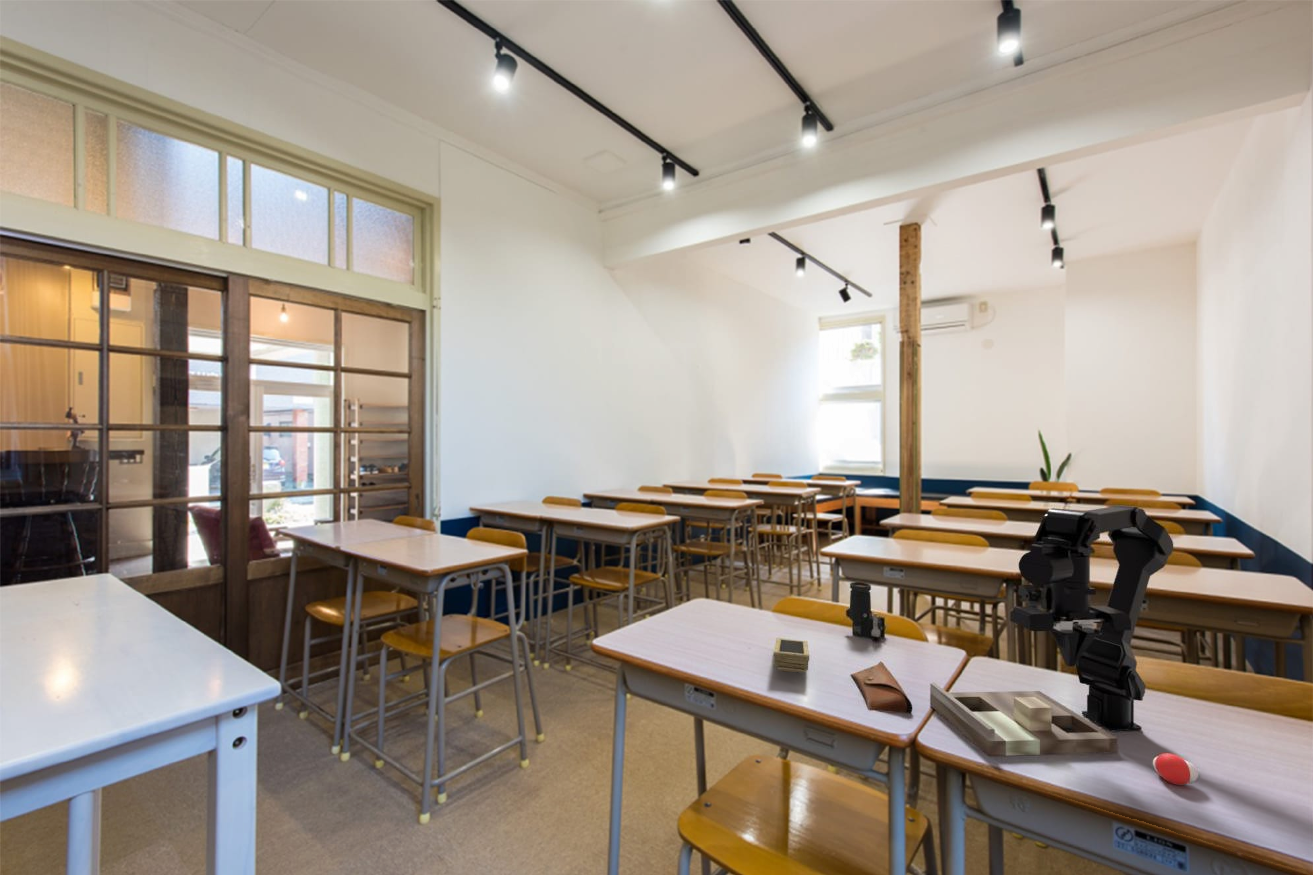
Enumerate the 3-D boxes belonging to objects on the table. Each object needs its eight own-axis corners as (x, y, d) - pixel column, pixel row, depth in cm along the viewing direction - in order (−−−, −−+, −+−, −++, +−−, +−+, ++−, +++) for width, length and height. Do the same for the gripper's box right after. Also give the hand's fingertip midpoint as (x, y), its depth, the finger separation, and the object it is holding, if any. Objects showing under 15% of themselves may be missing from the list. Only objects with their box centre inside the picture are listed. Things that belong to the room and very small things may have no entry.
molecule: (1162, 786, 85) (1163, 759, 85) (1148, 769, 90) (1148, 743, 90) (1204, 794, 84) (1204, 766, 84) (1187, 776, 88) (1187, 749, 88)
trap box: (1039, 703, 113) (1039, 681, 113) (1117, 752, 95) (1117, 726, 95) (930, 705, 111) (930, 682, 111) (988, 755, 93) (988, 729, 93)
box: (772, 675, 122) (773, 651, 122) (773, 655, 143) (774, 635, 144) (811, 680, 120) (812, 655, 121) (806, 658, 141) (806, 638, 142)
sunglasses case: (846, 673, 127) (862, 648, 126) (874, 690, 126) (889, 665, 126) (868, 711, 109) (886, 683, 108) (900, 731, 108) (918, 703, 108)
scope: (878, 591, 145) (840, 584, 152) (877, 644, 145) (840, 635, 152) (887, 585, 152) (851, 579, 158) (887, 635, 151) (851, 627, 158)
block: (1034, 718, 101) (1034, 696, 101) (1051, 730, 97) (1051, 707, 97) (1013, 719, 101) (1013, 697, 101) (1029, 730, 97) (1029, 707, 97)
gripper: (1082, 568, 108) (1081, 648, 108) (990, 569, 107) (990, 649, 107) (1134, 583, 97) (1134, 672, 97) (1032, 583, 96) (1032, 673, 96)
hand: (1069, 665), depth 100 cm, fingers closed
